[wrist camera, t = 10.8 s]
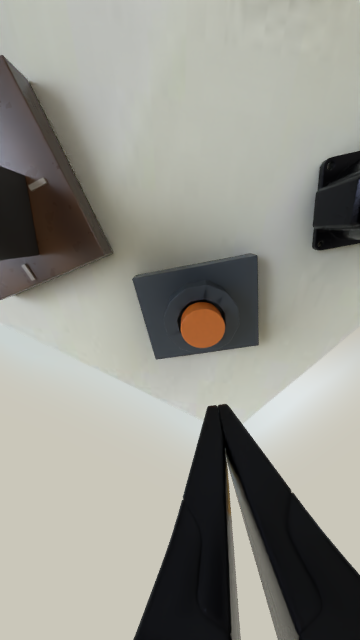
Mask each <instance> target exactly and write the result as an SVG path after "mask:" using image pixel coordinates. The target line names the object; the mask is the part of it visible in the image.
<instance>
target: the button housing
mask: <svg viewBox="0 0 360 640" xmlns="http://www.w3.org/2000/svg"><path fill="white" fill-rule="evenodd" d="M132 280H133V283H134V286H135V290H136V293H137V297H138V300H139V304H140V307H141V310H142V314H143V317H144V321H145V324H146V327H147V331H148V334H149V338H150V341H151V345H152V348H153V351H154V355H155V358H156V359H164V358H171V357H178V356H185V355H192V354H200V353H207V352H214V351H220V350H228V349H235V348H242V347H249V346H256V345H259V340H258V258H257V255H254V254H246V255H240V256H235V257H230V258H224V259H219V260H214V261H209V262H203V263H198V264H193V265H187V266H182V267H177V268H171V269H166V270H161V271H156V272H150V273H145V274H140V275H136V276H135V277H134V278H133V279H132ZM197 302H208V303H210V304H213V305H214V306H215V307H217V309H218V310H219V311H220V313H221V316H222V318H223V320H224V323H225V332H224V335H223V337H222V338H221V340H220V341H219V342H218V343H216V344H215V345H213V346H211V347H207V348H197V347H194V346H192V345H190V344H188V343H187V342H186V341H185V340H184V338H183V337H182V334H181V317H182V314H183V312H184V311H185V309H186V308H187V307H188V306H190V305H191V304H194V303H197Z"/></svg>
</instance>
